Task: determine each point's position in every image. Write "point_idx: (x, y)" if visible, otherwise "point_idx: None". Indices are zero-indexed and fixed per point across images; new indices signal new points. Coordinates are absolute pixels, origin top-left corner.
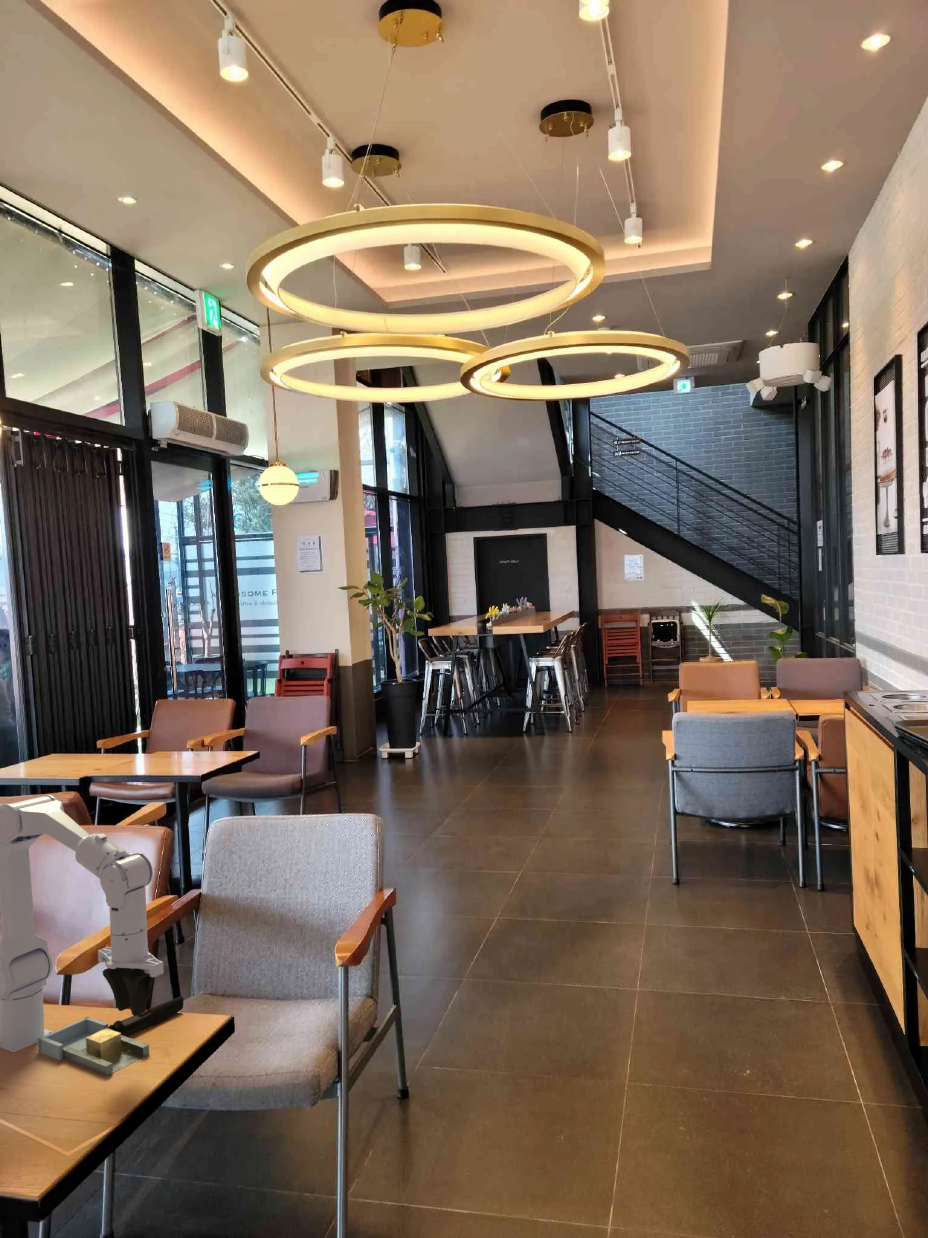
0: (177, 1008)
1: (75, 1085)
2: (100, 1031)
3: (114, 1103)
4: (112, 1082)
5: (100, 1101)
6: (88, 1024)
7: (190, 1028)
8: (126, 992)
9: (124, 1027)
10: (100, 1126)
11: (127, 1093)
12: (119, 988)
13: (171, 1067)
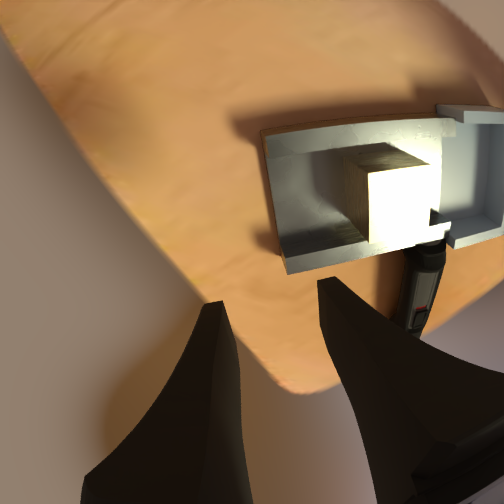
0: None
1: (301, 61)
2: (427, 211)
3: (114, 97)
4: (231, 135)
5: (153, 72)
6: (490, 223)
7: (322, 354)
8: (347, 369)
9: (414, 269)
10: (44, 45)
11: (138, 141)
12: (367, 372)
13: (187, 270)
